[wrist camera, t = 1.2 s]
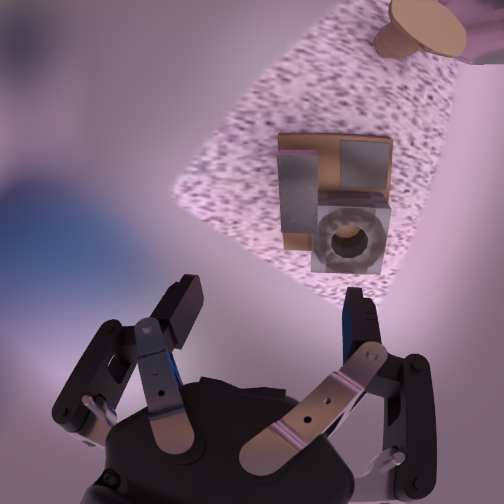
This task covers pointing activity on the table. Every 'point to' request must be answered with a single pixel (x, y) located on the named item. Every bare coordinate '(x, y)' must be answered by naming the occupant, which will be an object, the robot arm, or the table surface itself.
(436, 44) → the handle
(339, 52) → the table surface
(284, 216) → the hammer
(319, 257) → the peg insertion fixture
